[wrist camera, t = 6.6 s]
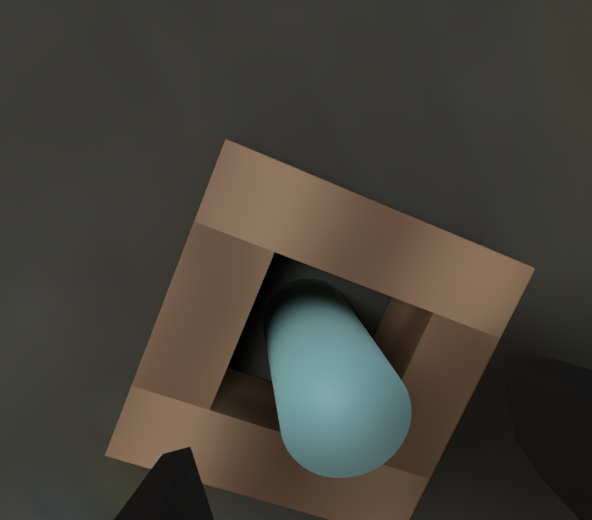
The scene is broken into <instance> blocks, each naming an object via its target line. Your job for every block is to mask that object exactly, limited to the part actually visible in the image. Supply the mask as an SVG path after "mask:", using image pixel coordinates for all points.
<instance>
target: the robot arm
mask: <svg viewBox="0 0 592 520" xmlns="http://www.w3.org/2000/svg"><path fill="white" fill-rule="evenodd" d="M504 362H505V369H506V375H507V382H508V389H509V396H510V403H511V410H512V417H513V424H514V431H515V438H516V441H517V442H518V444H519V445H520V447H521V448H522V450H523V451H524V453H525V454H526V456H527V457H528V459H529V460H530V462H531V463H532V465H533V466H534V467H535V469H536V470H537V472H538V473H539V474H540V476H541V477H542V478H543V479H544V481H545V482H546V483H547V484H548V485H549V486H550V487H551V488H552V490H553V491H554V492H555V493H556V494H557V495H558V496H559V497H560V498H561V500H562V501H563V502H564V503H565V504H566V505H567V506H568V507H569V508H570V510H571V511H572V512H573V513H574V514H575V515H576V516H577V517H578V518H579V519H580V520H592V370H588V369H585V368H582V367H578V366H575V365H571V364H568V363H564V362H561V361H557V360H554V359H550V358H546V357H542V356H537V355H532V354H529V355H526V356H522V357H518V358H515V359H511V360H507V361H504ZM114 520H214V519H213V516H212V512H211V509H210V506H209V503H208V500H207V497H206V494H205V491H204V487H203V484H202V481H201V478H200V475H199V472H198V469H197V466H196V462H195V459H194V456H193V453H192V450H191V447H187V448H183V449H179V450H176V451H172V452H168V453H165V454H163V455H162V456H161V457H160V458H159V459H158V461H157V462H156V463H155V465H154V466H153V467H152V469H151V470H150V472H149V473H148V474H147V476H146V477H145V479H144V480H143V481H142V483H141V484H140V485H139V487H138V488H137V490H136V491H135V492H134V494H133V495H132V496H131V498H130V499H129V500H128V502H127V503H126V504H125V506H124V507H123V508H122V510H121V511H120V512H119V514H118V515H117V516H116V518H115V519H114Z"/></svg>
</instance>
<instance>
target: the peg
mask: <svg viewBox="0 0 592 520" xmlns="http://www.w3.org/2000/svg"><path fill="white" fill-rule="evenodd" d="M263 329H264V335H265V341H266V347H267V353H268V359H269V365H270V371H271V377H272V383H273V389H274V395H275V401H276V407H277V413H278V419H279V425H280V430H281V436H282V439H283V442H284V444H285V446H286V448H287V450H288V452H289V453H290V454H291V456H292V457H293V458H294V459H295V460H296V461H297V462H298V463H299V464H300V465H301V466H303V467H304V468H306V469H307V470H309V471H311V472H313V473H316V474H318V475H322V476H325V477H332V478H348V477H354V476H359V475H362V474H365V473H368V472H370V471H372V470H374V469H376V468H378V467H379V466H381V465H382V464H384V463H385V462H386V461H388V460H389V459H390V458H391V457H392V456H393V455H394V454H395V453H396V451H397V450H398V449H399V448H400V446H401V445H402V443H403V441H404V440H405V437H406V435H407V433H408V430H409V427H410V422H411V401H410V397H409V394H408V391H407V389H406V387H405V385H404V384H403V382H402V380H401V379H400V377H399V376H398V375H397V373H396V372H395V370H394V369H393V367H392V366H391V365H390V363H389V362H388V360H387V359H386V357H385V356H384V355H383V353H382V352H381V350H380V349H379V347H378V346H377V344H376V343H375V342H374V340H373V339H372V337H371V336H370V334H369V333H368V332H367V330H366V329H365V327H364V326H363V324H362V323H361V322H360V320H359V319H358V317H357V316H356V314H355V313H354V312H353V310H352V309H351V307H350V306H349V304H348V303H347V302H346V300H345V299H344V297H343V296H342V295H341V293H340V292H339V291H338V290H337V289H336V288H334V287H333V286H332V285H330V284H328V283H326V282H323V281H320V280H316V279H301V280H296V281H293V282H290V283H288V284H286V285H285V286H283V287H281V288H280V289H279V290H278V291H277V292H276V293H275V294H274V295H273V296H272V297H271V299H270V300H269V302H268V304H267V306H266V308H265V311H264V315H263Z"/></svg>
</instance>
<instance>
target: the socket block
mask: <svg viewBox="0 0 592 520" xmlns="http://www.w3.org/2000/svg"><path fill="white" fill-rule="evenodd" d="M275 252H276V253H278V254H281V255H284V256H286V257H289V258H291V259H294V260H297V261H299V262H302V263H305V264H307V265H310V266H312V267H315V268H318V269H320V270H323V271H325V272H328V273H331V274H333V275H336V276H339V277H341V278H344V279H346V280H349V281H352V282H354V283H357V284H359V285H362V286H365V287H367V288H370V289H373V290H375V291H378V292H380V293H383V294H386V295H388V296H391V300H390V302H389V304H388V306H387V308H386V311H385V313H384V315H383V317H382V319H381V321H380V324H379V326H378V328H377V330H376V332H375V335H374V337H373V340H374V342H375V343H376V344H377V346H378V347H379V349H380V350H381V352H382V353H383V355H384V356H385V357H386V359H387V360H388V362H389V363H390V365H391V366H392V367H393V369H394V370H395V372H396V373H397V375H398V376H399V377H400V379H401V380H402V382H403V384H404V385H405V387H406V389H407V391H408V394H409V397H410V401H411V422H410V427H409V430H408V433H407V435H406V437H405V440H404V441H403V443H402V445H401V446H400V448H399V449H398V450H397V451H396V453H395V454H394V455H393V456H392V457H391V458H390V459H389V460H388V461H386V462H385V463H384V464H382V465H381V466H379V467H378V468H376V469H374V470H372V471H370V472H368V473H365V474H362V475H359V476H354V477H348V478H332V477H325V476H322V475H318V474H316V473H313V472H311V471H309V470H307V469H306V468H304V467H303V466H301V465H300V464H299V463H298V462H297V461H296V460H295V459H294V458H293V457H292V456H291V454H290V453H289V452H288V450H287V448H286V446H285V444H284V442H283V439H282V436H281V430H280V425H279V419H278V413H277V407H276V401H275V395H274V389H273V383H272V382H270V381H267V380H264V379H261V378H258V377H255V376H252V375H249V374H246V373H243V372H240V371H237V370H234V369H231V368H228V364H229V362H230V359H231V357H232V355H233V352H234V350H235V347H236V345H237V342H238V340H239V338H240V335H241V333H242V330H243V328H244V325H245V323H246V321H247V318H248V316H249V313H250V311H251V308H252V306H253V304H254V301H255V299H256V296H257V294H258V291H259V289H260V287H261V284H262V282H263V279H264V277H265V274H266V272H267V270H268V267H269V265H270V262H271V260H272V257H273V255H274V253H275ZM534 270H535V268H533V267H531V266H529V265H526V264H524V263H522V262H519V261H517V260H515V259H512V258H510V257H508V256H505V255H503V254H501V253H499V252H496V251H494V250H492V249H489V248H487V247H485V246H482V245H480V244H478V243H475V242H473V241H470V240H468V239H466V238H463V237H461V236H458V235H456V234H454V233H451V232H449V231H446V230H444V229H442V228H439V227H437V226H435V225H432V224H430V223H427V222H425V221H423V220H420V219H418V218H415V217H413V216H411V215H408V214H406V213H403V212H401V211H399V210H396V209H394V208H392V207H389V206H387V205H384V204H382V203H380V202H377V201H375V200H372V199H370V198H368V197H365V196H363V195H360V194H358V193H356V192H353V191H351V190H348V189H346V188H344V187H341V186H339V185H337V184H334V183H332V182H329V181H327V180H325V179H322V178H320V177H317V176H315V175H313V174H310V173H308V172H305V171H303V170H301V169H298V168H296V167H294V166H291V165H289V164H286V163H284V162H282V161H279V160H277V159H274V158H272V157H270V156H267V155H265V154H262V153H260V152H258V151H255V150H253V149H251V148H248V147H246V146H243V145H241V144H239V143H236V142H234V141H231V140H229V139H227V138H226V139H225V142H224V145H223V147H222V150H221V152H220V155H219V158H218V160H217V163H216V166H215V168H214V171H213V173H212V176H211V179H210V181H209V184H208V187H207V189H206V192H205V194H204V197H203V200H202V202H201V205H200V208H199V210H198V213H197V215H196V218H195V221H194V223H193V226H192V229H191V231H190V234H189V236H188V239H187V242H186V244H185V247H184V250H183V252H182V255H181V257H180V260H179V263H178V265H177V268H176V271H175V273H174V276H173V278H172V281H171V284H170V286H169V289H168V291H167V294H166V297H165V299H164V302H163V305H162V307H161V310H160V312H159V315H158V318H157V320H156V323H155V326H154V328H153V331H152V333H151V336H150V339H149V341H148V344H147V347H146V349H145V352H144V354H143V357H142V360H141V362H140V365H139V368H138V370H137V373H136V375H135V378H134V381H133V383H132V386H131V389H130V391H129V394H128V396H127V399H126V402H125V404H124V407H123V410H122V412H121V415H120V417H119V420H118V423H117V425H116V428H115V431H114V433H113V436H112V438H111V441H110V444H109V446H108V449H107V452H106V454H105V456H107V457H111V458H114V459H118V460H121V461H125V462H128V463H132V464H135V465H139V466H143V467H146V468H150V469H152V467H153V466H154V465H155V463H156V462H157V461H158V459H159V458H160V457H161V456H162V455H163V454H165V453H168V452H172V451H176V450H179V449H183V448H187V447H191V450H192V453H193V456H194V459H195V462H196V466H197V469H198V472H199V475H200V478H201V481H202V484H206V485H209V486H213V487H216V488H220V489H223V490H227V491H230V492H234V493H237V494H241V495H244V496H248V497H251V498H255V499H258V500H262V501H265V502H269V503H272V504H276V505H280V506H283V507H287V508H290V509H294V510H297V511H301V512H304V513H308V514H311V515H315V516H318V517H322V518H325V519H329V520H409V519H410V517H411V515H412V513H413V511H414V509H415V507H416V505H417V503H418V501H419V499H420V497H421V495H422V493H423V491H424V489H425V487H426V485H427V483H428V481H429V479H430V477H431V475H432V473H433V471H434V469H435V467H436V465H437V463H438V461H439V459H440V457H441V455H442V453H443V451H444V449H445V447H446V445H447V443H448V441H449V439H450V437H451V435H452V433H453V431H454V429H455V427H456V425H457V423H458V421H459V419H460V417H461V415H462V413H463V411H464V409H465V407H466V405H467V404H468V402H469V400H470V398H471V396H472V394H473V392H474V390H475V388H476V386H477V384H478V382H479V380H480V378H481V376H482V374H483V372H484V370H485V368H486V366H487V364H488V362H489V360H490V358H491V356H492V354H493V352H494V350H495V348H496V346H497V344H498V342H499V340H500V338H501V336H502V334H503V332H504V330H505V328H506V326H507V324H508V322H509V320H510V318H511V316H512V314H513V312H514V310H515V308H516V306H517V304H518V302H519V300H520V298H521V296H522V294H523V292H524V290H525V288H526V286H527V284H528V282H529V280H530V278H531V276H532V274H533V272H534Z"/></svg>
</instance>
